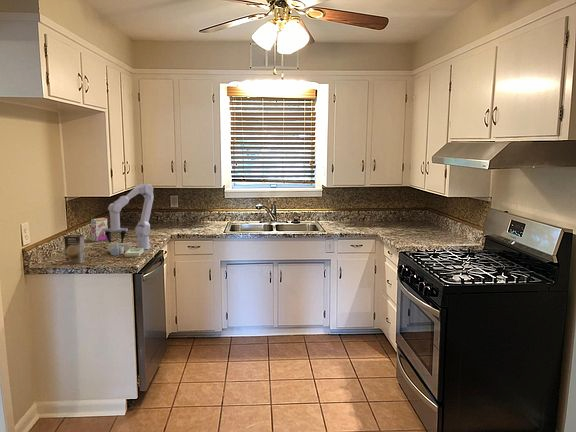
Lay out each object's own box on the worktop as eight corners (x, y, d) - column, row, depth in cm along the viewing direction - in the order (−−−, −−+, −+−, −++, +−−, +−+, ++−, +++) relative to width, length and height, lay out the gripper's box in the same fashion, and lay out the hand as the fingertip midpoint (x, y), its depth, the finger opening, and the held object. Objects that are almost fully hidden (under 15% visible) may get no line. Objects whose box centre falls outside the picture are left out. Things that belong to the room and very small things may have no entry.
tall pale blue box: (115, 252, 293) (115, 240, 292) (121, 252, 293) (121, 240, 292) (111, 255, 283) (110, 243, 282) (117, 255, 283) (117, 243, 282)
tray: (130, 252, 292) (130, 248, 292) (143, 251, 293) (143, 248, 293) (124, 257, 278) (124, 253, 277) (138, 256, 279) (138, 252, 278)
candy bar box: (96, 241, 325) (94, 219, 323) (91, 241, 328) (90, 219, 325) (108, 239, 335) (107, 217, 333) (104, 238, 337) (103, 217, 335)
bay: (109, 251, 295) (109, 243, 294) (130, 250, 296) (129, 243, 296) (105, 254, 286) (105, 246, 285) (126, 253, 288) (126, 245, 287)
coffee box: (65, 263, 261) (63, 236, 259) (70, 261, 267) (68, 234, 265) (81, 263, 261) (79, 236, 259) (85, 260, 267) (84, 234, 265)
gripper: (101, 223, 280) (102, 244, 282) (125, 222, 282) (126, 243, 284) (104, 221, 287) (105, 242, 289) (128, 221, 289) (128, 241, 291)
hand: (116, 242), depth 287 cm, fingers open, 7 cm apart
